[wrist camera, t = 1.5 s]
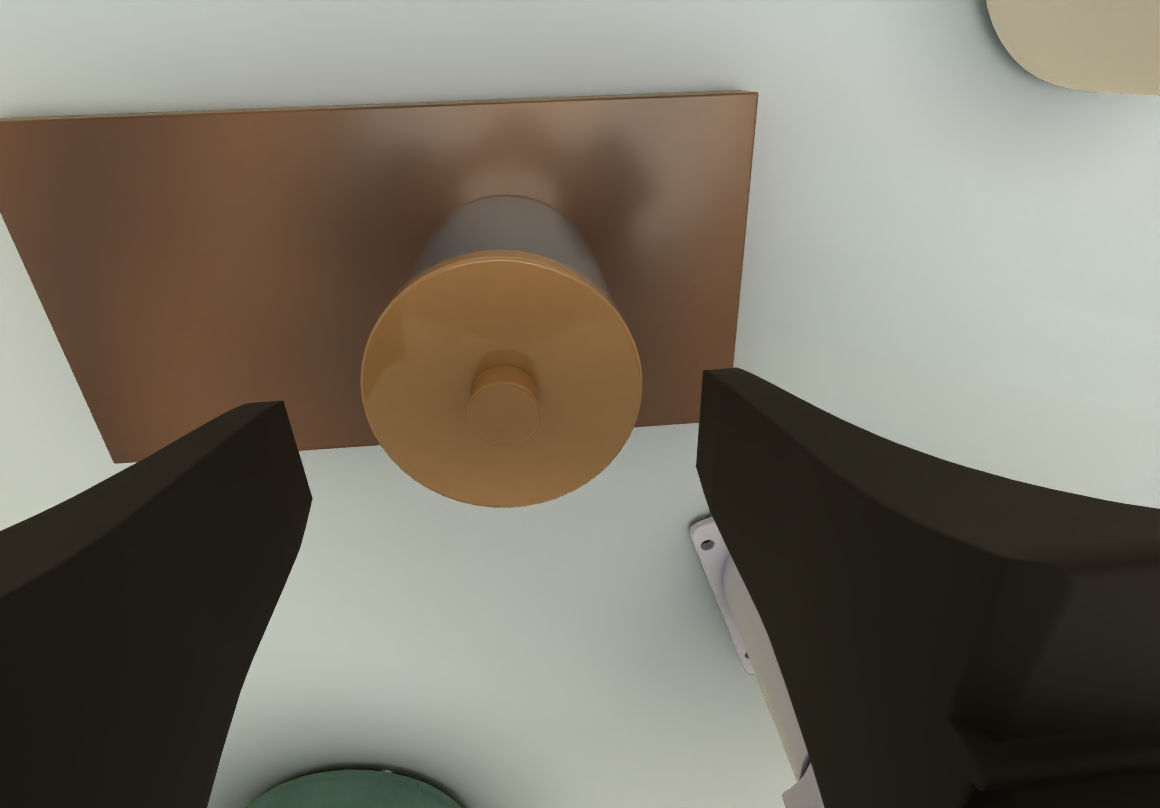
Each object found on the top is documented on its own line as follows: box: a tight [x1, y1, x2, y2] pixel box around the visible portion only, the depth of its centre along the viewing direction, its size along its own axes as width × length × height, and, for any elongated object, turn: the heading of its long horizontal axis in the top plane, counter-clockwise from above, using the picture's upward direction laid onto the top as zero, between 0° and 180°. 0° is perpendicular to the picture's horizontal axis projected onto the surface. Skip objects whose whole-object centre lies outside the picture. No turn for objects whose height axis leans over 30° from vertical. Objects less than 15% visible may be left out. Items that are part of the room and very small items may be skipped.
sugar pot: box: [360, 196, 642, 508], centre depth 15 cm, size 6×6×8 cm
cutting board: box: [0, 90, 758, 463], centre depth 19 cm, size 20×10×2 cm, turn 92°
